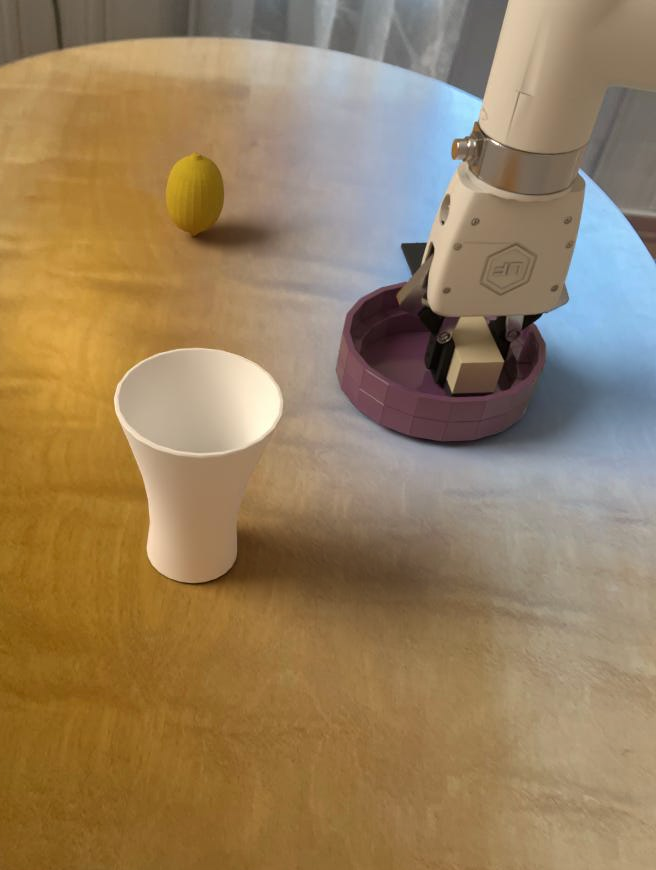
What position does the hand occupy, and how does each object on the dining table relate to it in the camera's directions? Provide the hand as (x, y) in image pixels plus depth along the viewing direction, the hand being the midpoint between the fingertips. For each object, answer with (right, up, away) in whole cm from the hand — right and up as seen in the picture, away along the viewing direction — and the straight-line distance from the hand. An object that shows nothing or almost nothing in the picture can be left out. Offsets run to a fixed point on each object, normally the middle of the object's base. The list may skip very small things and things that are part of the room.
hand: (460, 371), depth 84 cm
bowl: (-2, -1, +1) cm, 2 cm away
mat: (+4, +12, +11) cm, 17 cm away
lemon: (-22, +17, +14) cm, 31 cm away
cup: (-23, -16, -12) cm, 30 cm away
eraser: (0, 0, 0) cm, 0 cm away
